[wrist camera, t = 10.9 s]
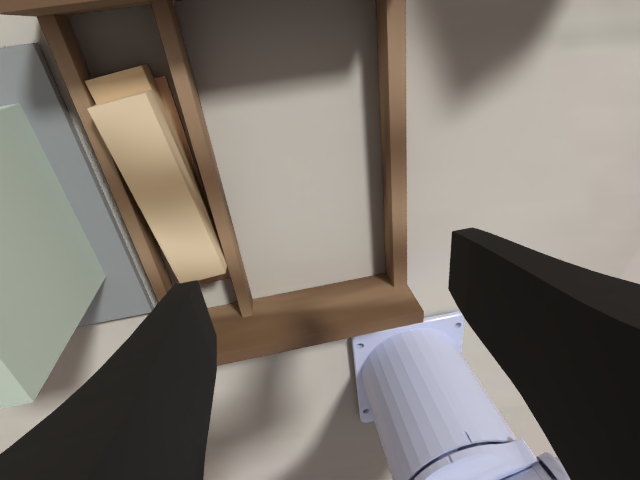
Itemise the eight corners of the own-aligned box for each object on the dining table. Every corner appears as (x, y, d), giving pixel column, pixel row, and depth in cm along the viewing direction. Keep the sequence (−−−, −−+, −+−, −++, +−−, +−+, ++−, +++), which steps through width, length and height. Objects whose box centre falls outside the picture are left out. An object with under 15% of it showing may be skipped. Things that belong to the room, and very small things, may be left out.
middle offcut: (228, 253, 21) (227, 263, 20) (187, 264, 21) (184, 275, 20) (147, 63, 16) (141, 65, 15) (93, 78, 16) (84, 81, 15)
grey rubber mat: (153, 307, 22) (152, 312, 22) (48, 328, 22) (45, 333, 22) (37, 42, 15) (32, 43, 15) (-122, 64, 15) (-131, 65, 15)
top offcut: (227, 262, 20) (225, 273, 19) (184, 274, 20) (180, 285, 20) (151, 89, 16) (145, 93, 15) (96, 104, 16) (87, 108, 15)
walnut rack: (398, 280, 24) (423, 322, 21) (177, 325, 23) (165, 376, 20) (392, -51, 16) (432, -73, 12) (41, -7, 15) (-23, -18, 11)
